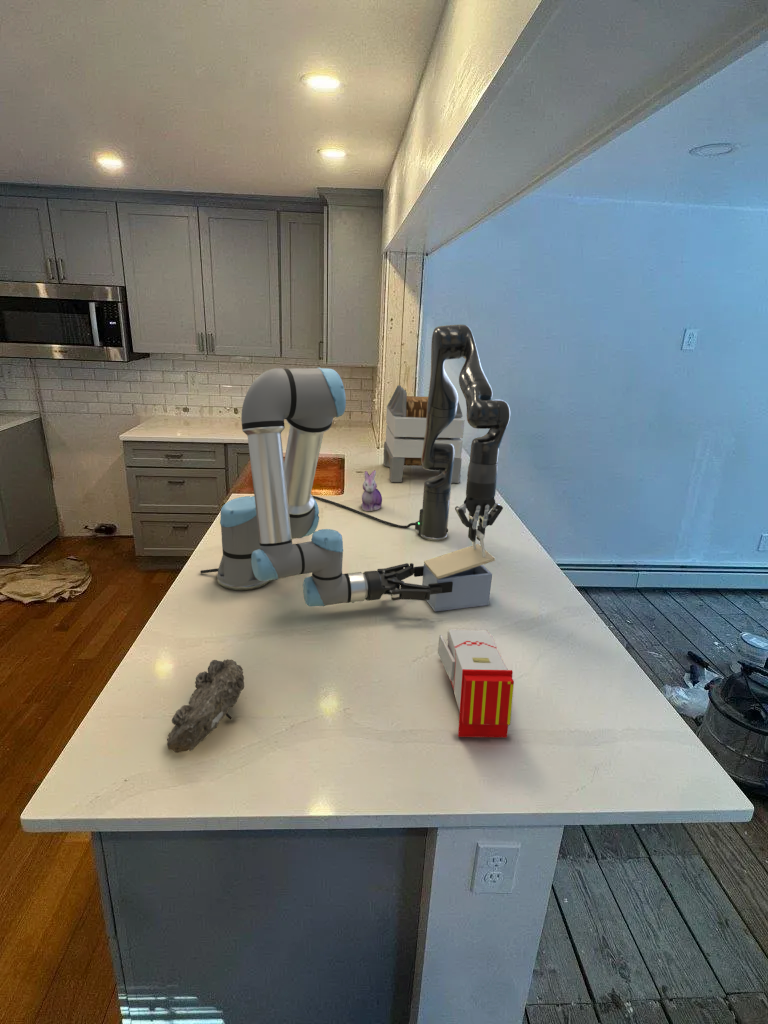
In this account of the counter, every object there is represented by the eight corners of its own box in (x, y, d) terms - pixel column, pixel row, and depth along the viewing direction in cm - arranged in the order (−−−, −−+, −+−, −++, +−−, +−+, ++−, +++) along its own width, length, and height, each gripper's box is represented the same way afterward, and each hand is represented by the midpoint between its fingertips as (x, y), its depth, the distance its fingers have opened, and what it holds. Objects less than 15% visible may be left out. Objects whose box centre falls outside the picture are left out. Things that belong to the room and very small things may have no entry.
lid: (478, 546, 158) (475, 521, 155) (495, 560, 150) (492, 534, 147) (424, 563, 155) (419, 538, 152) (437, 579, 146) (433, 553, 143)
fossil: (192, 660, 117) (244, 628, 112) (224, 691, 120) (276, 661, 115) (142, 746, 98) (202, 712, 93) (182, 779, 101) (242, 748, 96)
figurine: (366, 513, 218) (367, 475, 213) (355, 505, 226) (356, 468, 221) (387, 510, 222) (389, 473, 217) (376, 502, 231) (377, 466, 226)
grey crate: (382, 463, 289) (386, 382, 275) (445, 464, 293) (451, 384, 279) (390, 482, 257) (394, 392, 243) (460, 483, 261) (468, 394, 247)
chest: (473, 588, 163) (476, 559, 160) (488, 605, 154) (492, 574, 151) (421, 594, 158) (423, 564, 155) (434, 611, 149) (437, 579, 146)
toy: (488, 613, 130) (523, 677, 101) (484, 667, 133) (517, 744, 104) (435, 612, 130) (455, 676, 101) (432, 666, 133) (451, 743, 103)
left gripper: (352, 580, 157) (427, 572, 164) (375, 621, 137) (460, 610, 144) (353, 555, 155) (429, 548, 161) (377, 593, 135) (462, 584, 141)
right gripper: (463, 484, 140) (458, 548, 146) (512, 480, 144) (505, 543, 150) (451, 475, 147) (446, 537, 153) (498, 472, 151) (492, 532, 157)
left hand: (443, 577), depth 153 cm, fingers closed on chest, 10 cm apart
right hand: (475, 540), depth 151 cm, fingers closed
